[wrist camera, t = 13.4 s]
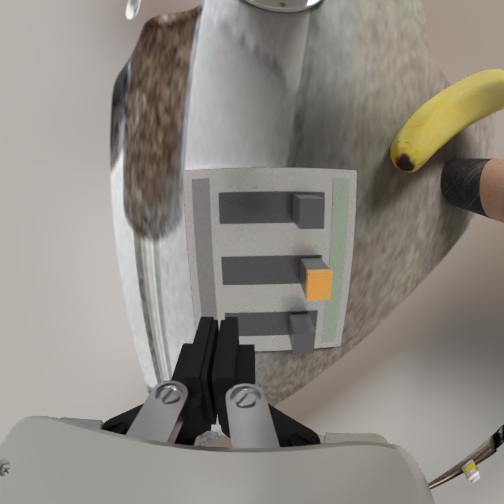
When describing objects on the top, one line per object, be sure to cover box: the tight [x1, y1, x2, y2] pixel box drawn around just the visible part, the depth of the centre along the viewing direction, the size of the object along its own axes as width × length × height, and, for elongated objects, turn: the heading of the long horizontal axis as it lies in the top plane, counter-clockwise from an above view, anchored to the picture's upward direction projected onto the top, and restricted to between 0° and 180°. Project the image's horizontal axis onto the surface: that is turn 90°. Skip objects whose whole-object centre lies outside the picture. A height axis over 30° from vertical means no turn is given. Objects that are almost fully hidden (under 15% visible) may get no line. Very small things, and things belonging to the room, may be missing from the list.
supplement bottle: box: [462, 460, 480, 483], centre depth 59 cm, size 7×7×13 cm
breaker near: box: [293, 194, 325, 229], centre depth 28 cm, size 3×2×4 cm
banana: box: [390, 69, 504, 172], centre depth 19 cm, size 23×6×20 cm, turn 131°
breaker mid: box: [299, 258, 333, 301], centre depth 30 cm, size 3×3×5 cm
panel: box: [183, 167, 357, 351], centre depth 34 cm, size 24×20×2 cm
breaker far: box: [288, 314, 316, 354], centre depth 33 cm, size 3×2×4 cm
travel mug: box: [441, 159, 504, 222], centre depth 22 cm, size 8×8×20 cm
